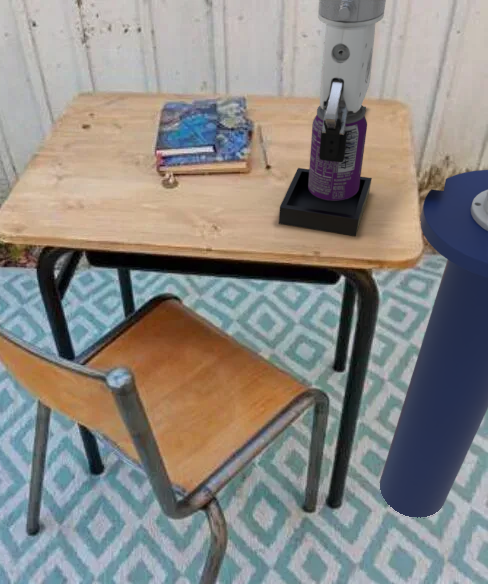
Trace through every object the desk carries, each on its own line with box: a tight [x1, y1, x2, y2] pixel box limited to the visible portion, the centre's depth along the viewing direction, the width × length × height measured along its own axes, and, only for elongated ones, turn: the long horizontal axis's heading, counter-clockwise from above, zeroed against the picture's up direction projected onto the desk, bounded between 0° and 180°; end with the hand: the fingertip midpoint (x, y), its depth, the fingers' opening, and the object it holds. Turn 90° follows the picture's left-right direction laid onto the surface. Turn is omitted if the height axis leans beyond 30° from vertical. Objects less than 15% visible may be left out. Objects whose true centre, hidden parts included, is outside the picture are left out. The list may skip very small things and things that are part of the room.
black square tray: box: [278, 167, 373, 237], centre depth 94 cm, size 11×11×3 cm
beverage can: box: [308, 102, 368, 201], centre depth 88 cm, size 7×7×12 cm
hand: (337, 144), depth 87 cm, fingers closed on beverage can, 7 cm apart
